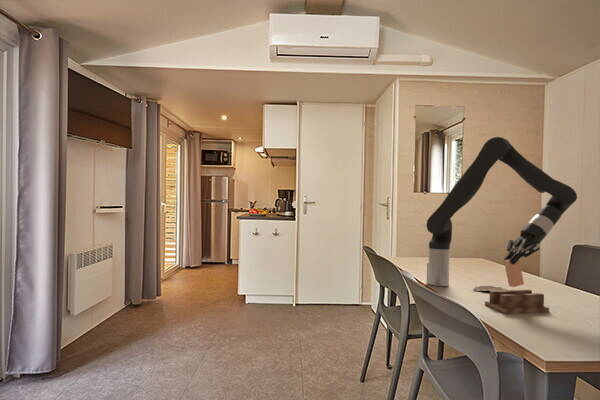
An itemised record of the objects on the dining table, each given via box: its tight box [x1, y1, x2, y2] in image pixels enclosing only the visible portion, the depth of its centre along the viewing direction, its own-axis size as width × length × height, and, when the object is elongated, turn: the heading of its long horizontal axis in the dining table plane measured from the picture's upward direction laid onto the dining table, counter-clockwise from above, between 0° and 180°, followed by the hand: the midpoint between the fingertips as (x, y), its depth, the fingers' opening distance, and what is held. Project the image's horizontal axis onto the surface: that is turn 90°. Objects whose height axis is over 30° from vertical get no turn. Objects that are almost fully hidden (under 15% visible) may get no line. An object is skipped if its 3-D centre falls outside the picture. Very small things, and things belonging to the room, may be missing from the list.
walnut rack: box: [484, 288, 550, 315], centre depth 139 cm, size 18×11×6 cm, turn 100°
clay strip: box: [503, 259, 525, 288], centre depth 140 cm, size 4×2×10 cm, turn 100°
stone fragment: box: [472, 285, 508, 292], centre depth 161 cm, size 25×3×10 cm
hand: (508, 262), depth 139 cm, fingers closed on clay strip, 2 cm apart
